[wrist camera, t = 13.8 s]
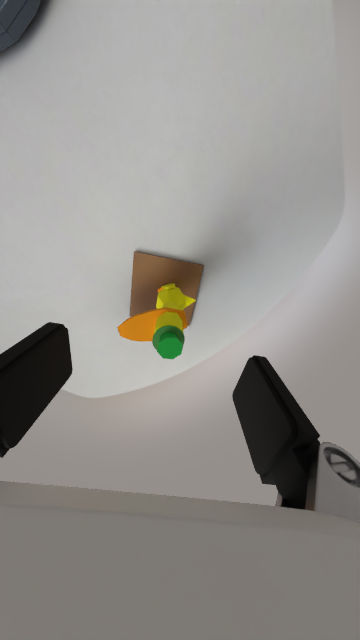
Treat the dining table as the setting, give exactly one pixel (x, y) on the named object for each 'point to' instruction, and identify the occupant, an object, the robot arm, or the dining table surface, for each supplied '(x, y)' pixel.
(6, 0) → the plate
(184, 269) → the coaster
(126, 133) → the dining table surface
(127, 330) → the toy figure
